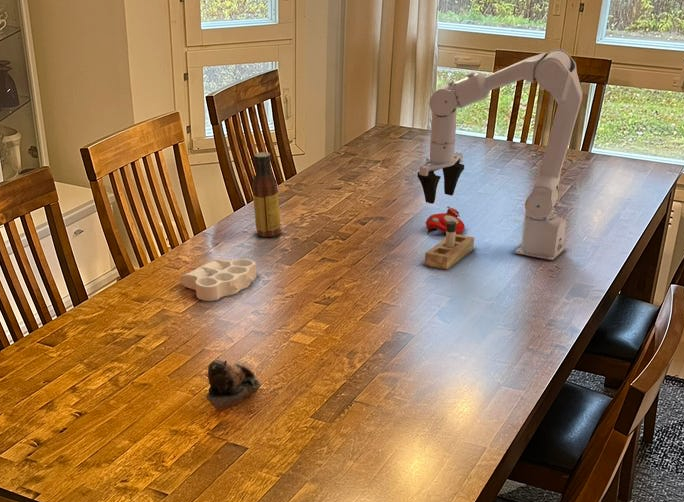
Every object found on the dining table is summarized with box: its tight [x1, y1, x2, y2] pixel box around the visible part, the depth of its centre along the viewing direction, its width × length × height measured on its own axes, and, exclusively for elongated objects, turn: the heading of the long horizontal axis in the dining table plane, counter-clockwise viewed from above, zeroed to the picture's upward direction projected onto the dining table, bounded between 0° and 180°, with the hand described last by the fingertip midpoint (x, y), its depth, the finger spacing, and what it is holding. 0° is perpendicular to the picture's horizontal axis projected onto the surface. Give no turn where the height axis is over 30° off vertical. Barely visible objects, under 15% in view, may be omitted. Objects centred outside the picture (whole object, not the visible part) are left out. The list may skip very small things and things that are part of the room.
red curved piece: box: [425, 205, 466, 235], centre depth 252 cm, size 12×4×10 cm
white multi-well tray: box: [179, 258, 257, 302], centre depth 226 cm, size 3×18×15 cm
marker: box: [445, 221, 456, 248], centre depth 235 cm, size 2×2×8 cm
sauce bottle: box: [252, 151, 282, 238], centre depth 247 cm, size 7×6×20 cm
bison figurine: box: [205, 359, 262, 410], centre depth 180 cm, size 12×7×10 cm, turn 150°
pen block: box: [424, 234, 475, 271], centre depth 237 cm, size 6×15×3 cm, turn 147°
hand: (439, 198), depth 241 cm, fingers open, 7 cm apart
